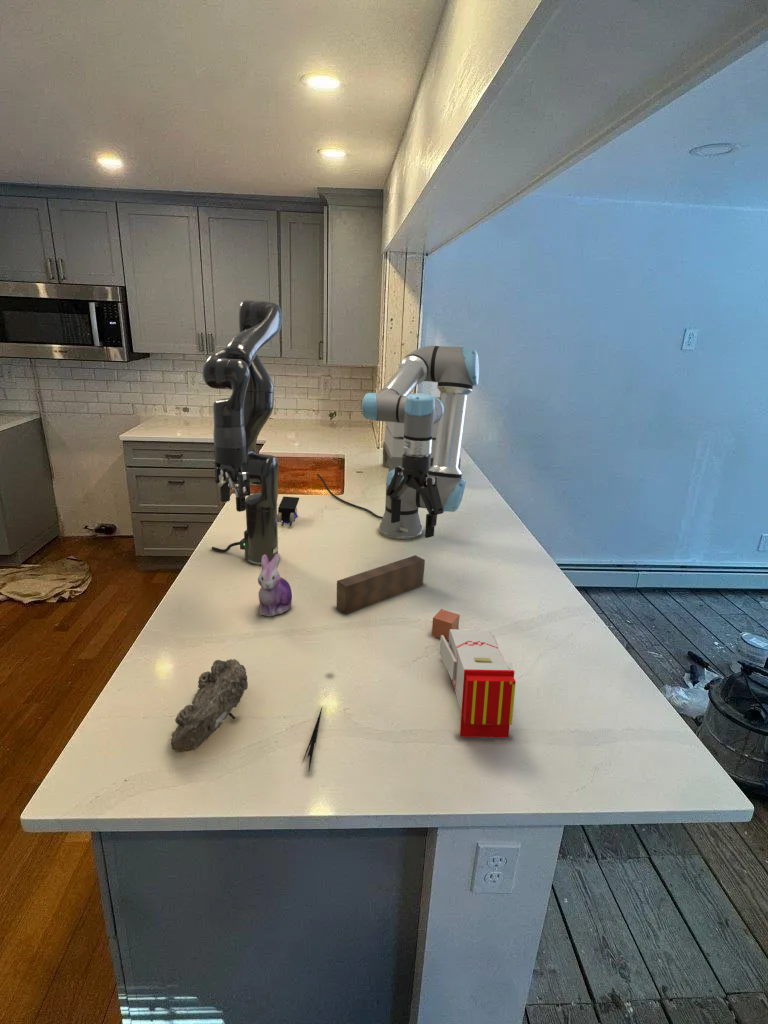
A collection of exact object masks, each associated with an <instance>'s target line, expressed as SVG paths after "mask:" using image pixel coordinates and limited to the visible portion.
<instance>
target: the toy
mask: <svg viewBox="0 0 768 1024" xmlns="http://www.w3.org/2000/svg"><path fill="white" fill-rule="evenodd" d="M438 654H439V656H440V658H441V660H442V662H443V665H444V666H445V668H446V671H447V673H448V675H449V677H450V681H451V683H452V685H453V689H454V690H455V695H456V698H457V702H458V705H459V708H460V726H459V737H460V738H509V737H510V728H511V727H510V726H512V725H513V717H514V706H515V705H514V704H515V693H516V684H517V683H516V679H515V670H514V669H510V667H509V666H508V663H507V662H506V660H505V658H504V655H503V654H502V652H501V650H500V648H499V644H498V642H497V638H496V635H495V634H492V632H491V631H490V629H467V628H466V629H465V628H463V629H461V628H460V629H459V628H458V629H450V631H449V641H447V640H446V639H445V637H444V635H441V638H440V641H439V651H438Z"/></svg>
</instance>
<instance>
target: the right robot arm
mask: <svg viewBox="0 0 768 1024" xmlns="http://www.w3.org/2000/svg"><path fill="white" fill-rule="evenodd" d="M479 379H480V361H479V354H478V352H477V350H476V349H474V348H471V347H464V346H445V345H444V346H443V345H427V346H426V345H425V346H423V347H419V348H417V349H414V350H413V351H411V352H409V353H408V354H406V355H405V356H404V358H402V359H401V361H400V362H399V365H398V369H397V370H396V372H395V373H394V374H393V375H392V376H391V377H390V379H389V380H388V382H387V383H386V384H385V385H384V386H383V387H382V388H381V390H379V392H366V394H365V395H364V396H363V398H362V402H361V403H362V404H361V411H362V412H361V413H362V416H363V417H364V418H365V420H369V421H370V420H371V421H375V422H385V421H386V422H397V423H404V439H403V452H404V454H403V455H402V466H399V467H395V469H393V470H391V471H390V472H389V471H388V473H387V475H386V482H385V504H384V505H385V507H384V508H385V509H384V513H383V515H382V516H380V515H378V514H376V513H375V512H373V511H372V510H370V509H368V508H366V507H363V506H360V505H356V504H354V503H351V502H349V501H346V500H345V499H343V498H340V497H338V496H337V495H335V494H334V493H333V492H332V491H331V490H330V488H329V487H328V485H327V484H326V481H325V479H324V478H323V477H322V476H321V475H320V474H319V473H316V476H317V477H318V478H319V479H320V480H321V482H322V483H323V485H324V487H325V489H326V491H327V492H328V493H329V494H330V495H331V496H332V497H333V498H335V499H336V500H338V501H340V502H342V503H344V504H346V505H349V506H351V507H354V508H357V509H359V510H363V511H365V512H367V513H369V514H371V515H372V516H374V517H375V518H377V519H380V520H381V522H379V526H378V533H379V534H380V535H381V536H382V537H385V538H387V539H389V540H395V541H410V540H415V539H418V538H420V537H421V536H422V535H423V525H422V524H421V518H420V515H419V509H425V510H426V511H427V513H426V514H425V529H424V538H425V539H430V538H432V537H434V536H435V528H436V526H437V520H438V515H442V514H444V512H448V513H449V512H450V513H454V512H456V511H457V510H458V509H459V508H460V506H461V503H462V500H463V497H464V493H465V489H466V483H467V482H466V479H464V478H462V477H463V476H462V475H463V473H462V471H461V469H460V470H459V469H458V464H459V456H460V457H461V454H460V448H461V449H462V443H461V441H462V438H463V431H464V424H465V423H464V422H465V416H466V415H465V414H466V406H467V401H468V400H467V399H468V396H469V394H471V393H472V392H473V389H474V387H476V386H478V385H479ZM423 382H432V383H437V386H436V388H437V390H438V391H439V392H441V399H440V400H439V399H438V398H437V397H438V396H433V395H431V394H427V393H412V392H413V391H414V390H415V388H416V387H417V385H420V384H421V383H423ZM437 422H438V425H437V433H436V442H435V450H434V459H433V465H432V466H430V461H431V456H430V455H429V454H431V448H432V432H433V425H434V424H435V423H437Z"/></svg>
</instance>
